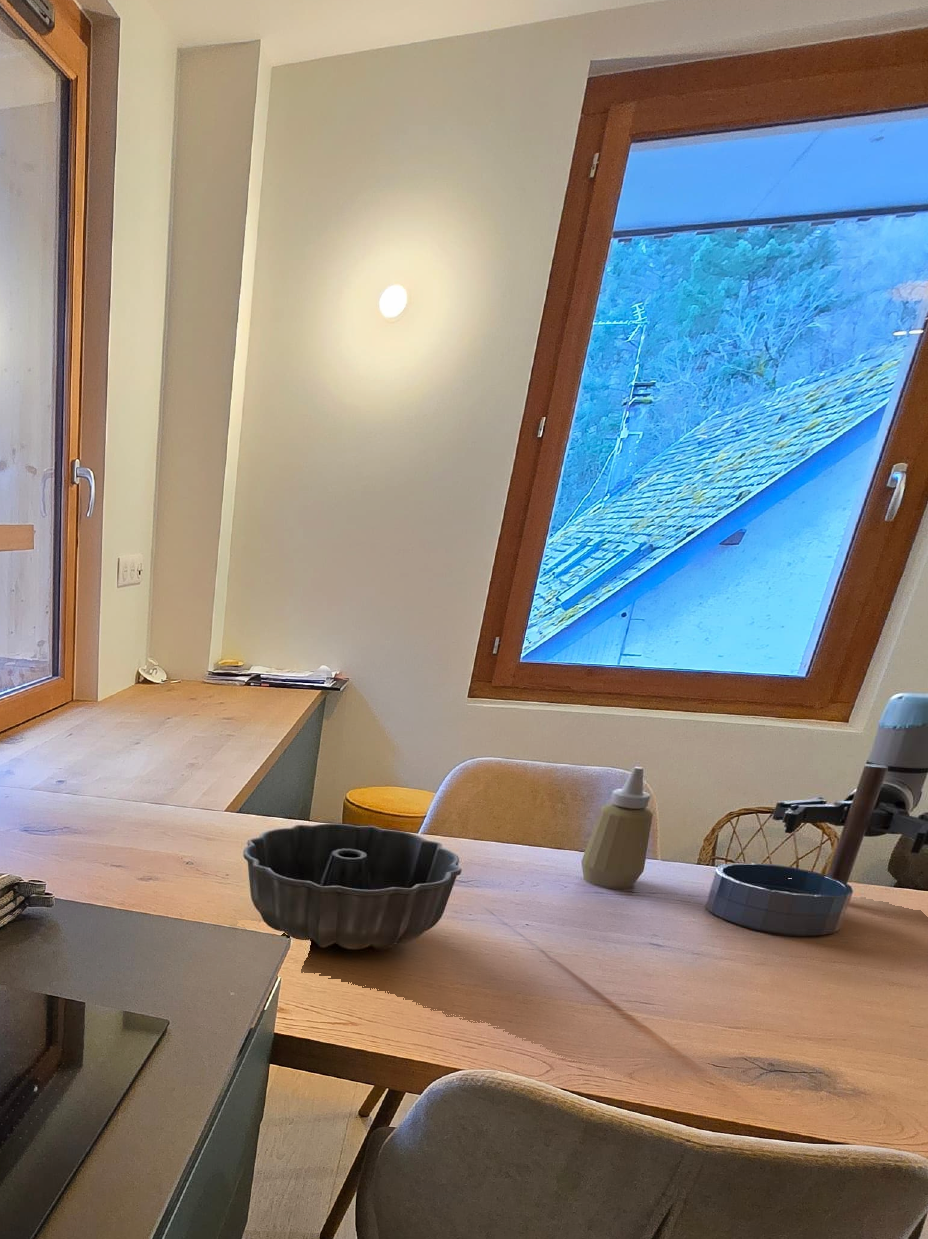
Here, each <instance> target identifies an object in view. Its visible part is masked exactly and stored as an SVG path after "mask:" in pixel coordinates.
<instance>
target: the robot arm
mask: <svg viewBox="0 0 928 1239" xmlns="http://www.w3.org/2000/svg"><path fill="white" fill-rule="evenodd" d="M866 764H876V765H883V766H887V767H888V770H887V773H886V775H885V778H884V781H883V784H882V787H881V789H880V792H879V795H878V798H877V801H876V804H875V806H874V809H873V812H872V815H871V818H870V820H869V823H868V826H867V829H866V832H865V835H864V837H868V838H875V837H880V836H881V837H882V836H884V835H902V836H904V837H907V838H910V839H913V840H914V843H913V845H912V848H911V850H910V853H913V854H919V853H920V852H921V850H922V849H923V847H924V845H926V846H928V811H927V812H923V813H919V814H918V816H912V815H910V813H912V812H913V811H914V809H916V808H917V807H918V805H919V803H920V801H921V798H922V795H923V791H922V790H923V787H924V784H925V782H926V779H927V776H928V693H914V692H902V693H898V694H897V693H896V694H895V695H893V696H891V697H890V698H889V699H888V702H887V704H886V705H885V707H884V709H883V712H882V715H881V717H880V719H879V720H878V726H877V729H876V733H875V735H874V739H873V742H872V745H871V749H870V752H869V755H868V758H867V760H866V762H865V765H866ZM855 792H856V789H854V790H853V791H852V792H851V793H850V794H848V796H847V797H846V798H845V799H844V800H836V801H835V802H834V803H832V804H828V803H827V802H828V800H826V798H824V797H822V796H818V797H814V798H810V799H797V800H787V801H786V800H785V801H777V802H776V805H775V807H774V811H773V814H772V818H771V819H772V820H773V821H782V823H783V824H784V825H783V826H784V828H785V830H784V833H785V834H793V833H794V832H795V831H796V830H797V829H799V828H800V827H801V826H802V824H828V825H832V826H835V827H844V824H845V821H846V818H847V815H848V812H849V809H850V807H851V804H852V801H853V798H854V795H855Z"/></svg>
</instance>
